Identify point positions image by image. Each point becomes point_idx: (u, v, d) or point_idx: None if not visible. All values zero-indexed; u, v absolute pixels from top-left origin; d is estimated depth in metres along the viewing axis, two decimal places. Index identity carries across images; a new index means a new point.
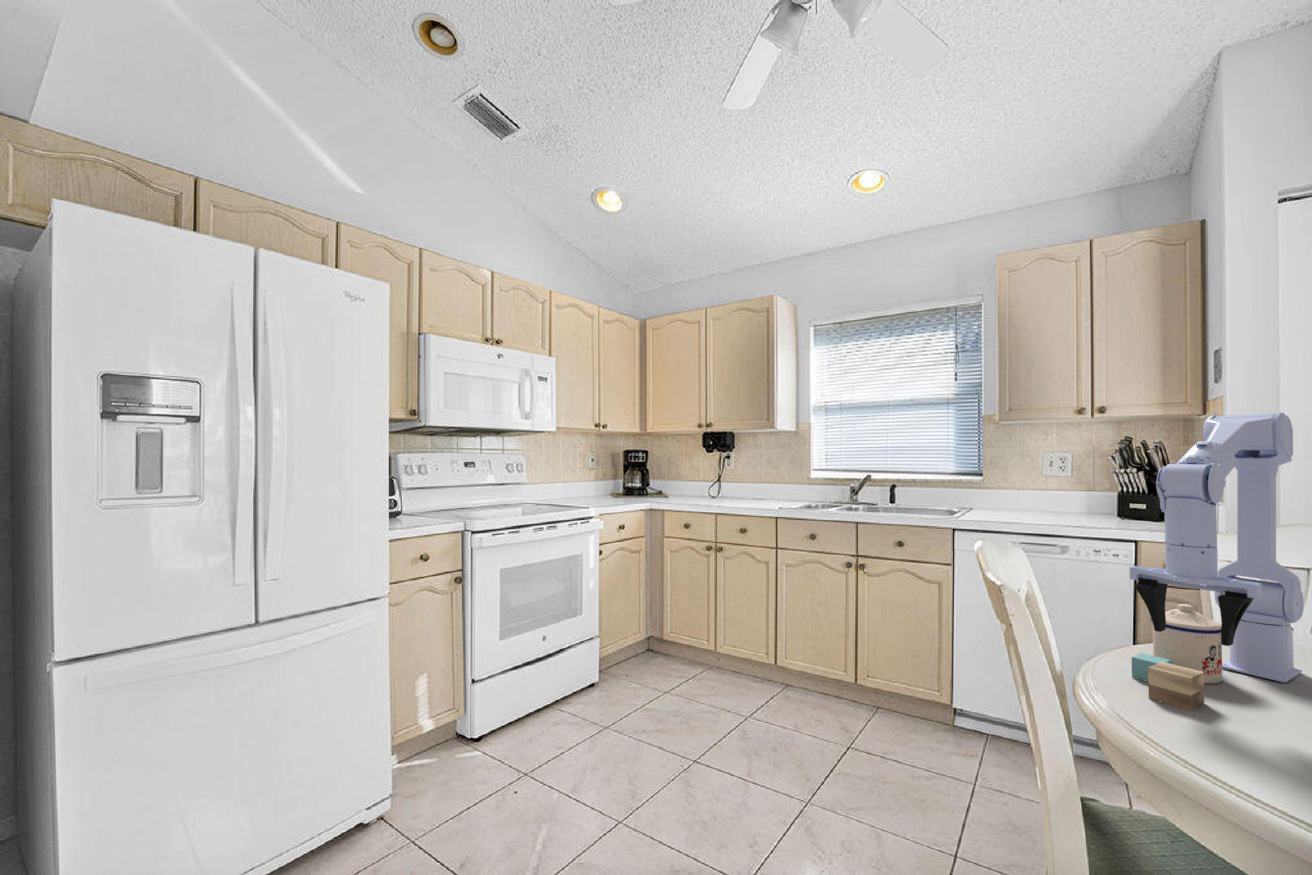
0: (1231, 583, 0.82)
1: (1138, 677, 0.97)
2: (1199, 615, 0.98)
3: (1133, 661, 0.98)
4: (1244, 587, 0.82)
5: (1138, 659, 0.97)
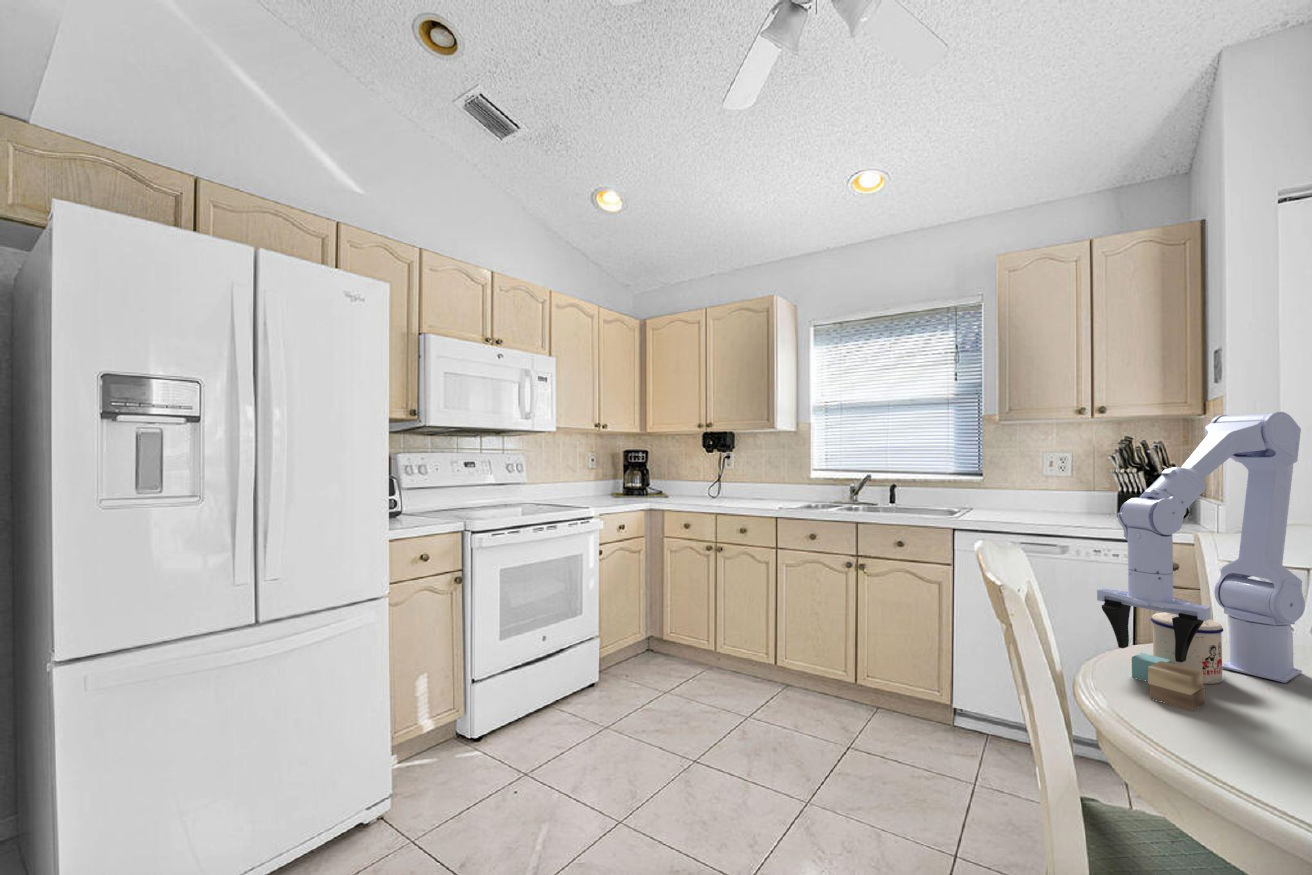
0: (1184, 606, 0.93)
1: (1138, 677, 0.97)
2: None
3: (1133, 661, 0.98)
4: (1195, 610, 0.92)
5: (1138, 659, 0.97)
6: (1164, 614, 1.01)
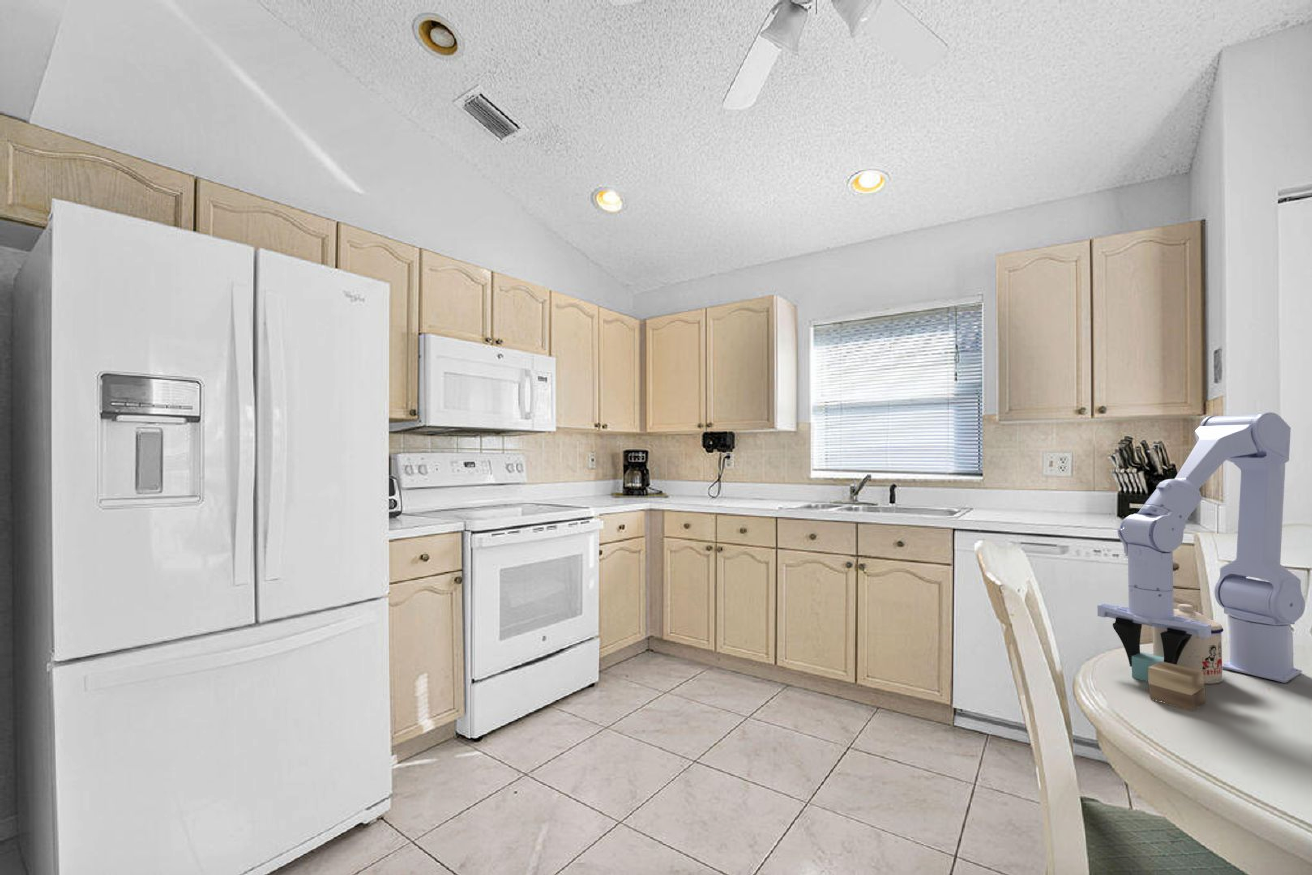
0: (1184, 624, 0.93)
1: (1138, 676, 0.97)
2: (1199, 615, 0.98)
3: (1133, 660, 0.98)
4: (1195, 628, 0.92)
5: (1138, 658, 0.97)
6: None
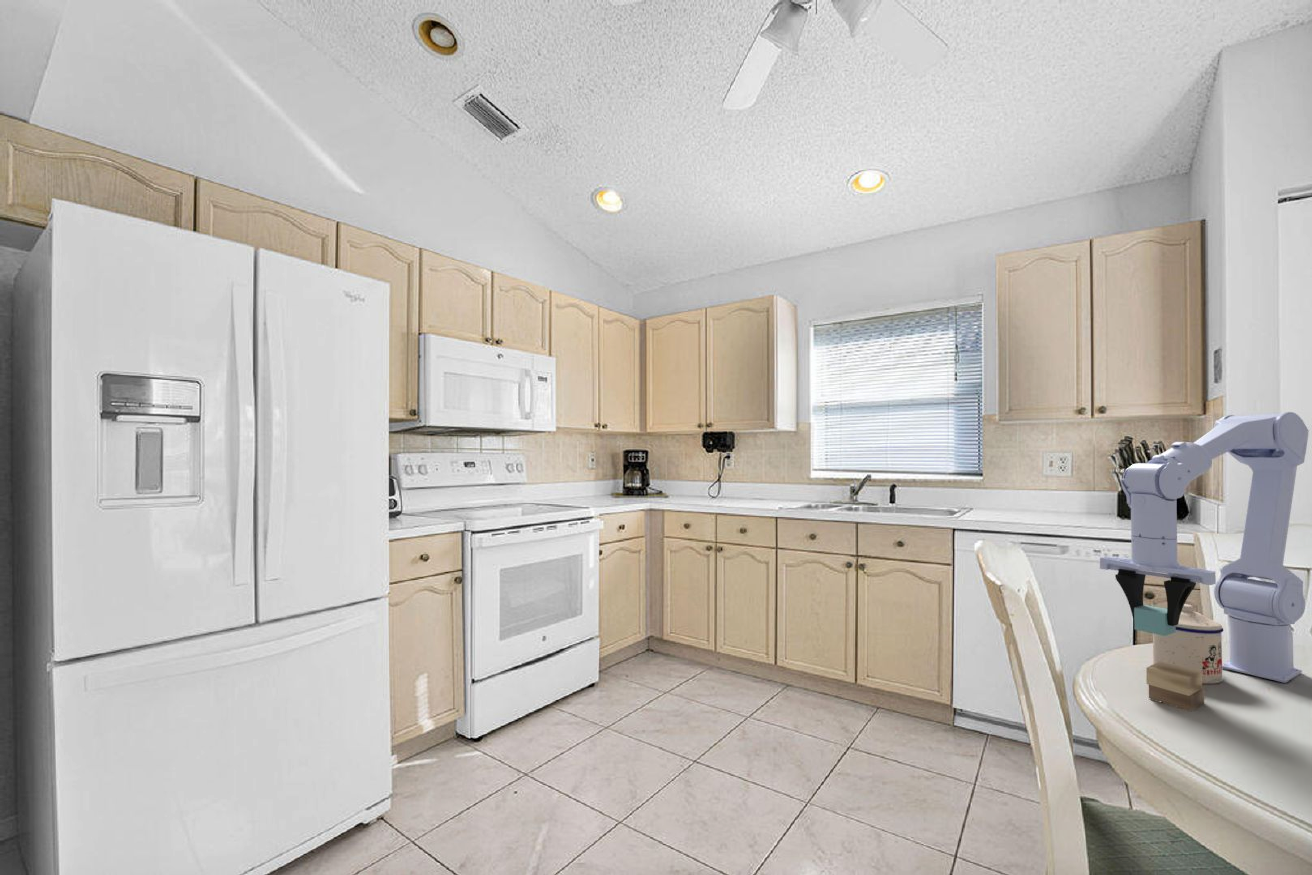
0: (1188, 571, 0.91)
1: (1141, 628, 0.95)
2: (1199, 615, 0.98)
3: (1136, 612, 0.96)
4: (1199, 575, 0.90)
5: (1141, 609, 0.96)
6: None
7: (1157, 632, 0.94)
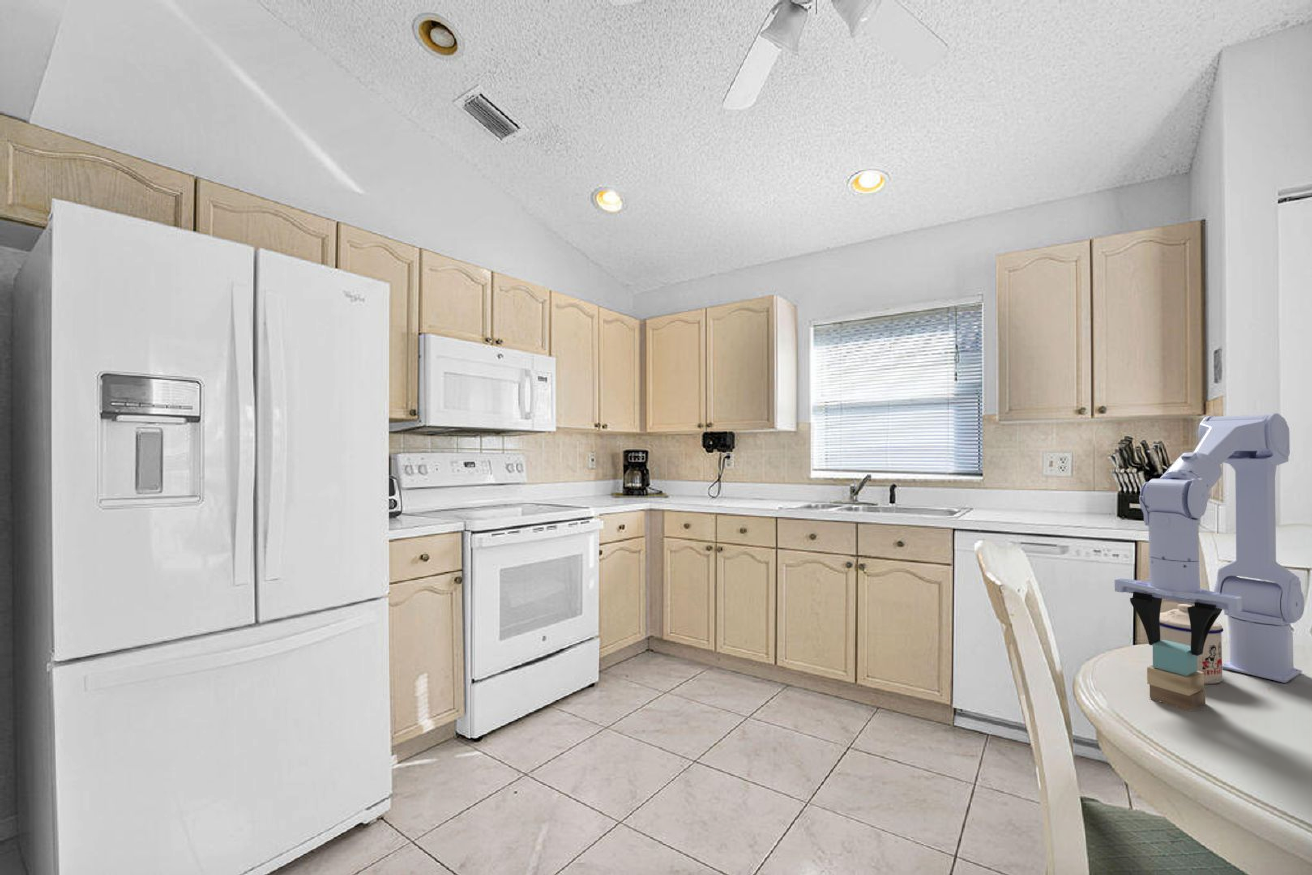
0: (1212, 597, 0.84)
1: (1160, 666, 0.89)
2: None
3: (1154, 648, 0.89)
4: (1225, 601, 0.83)
5: (1160, 646, 0.89)
6: (1164, 614, 1.01)
7: (1178, 671, 0.87)
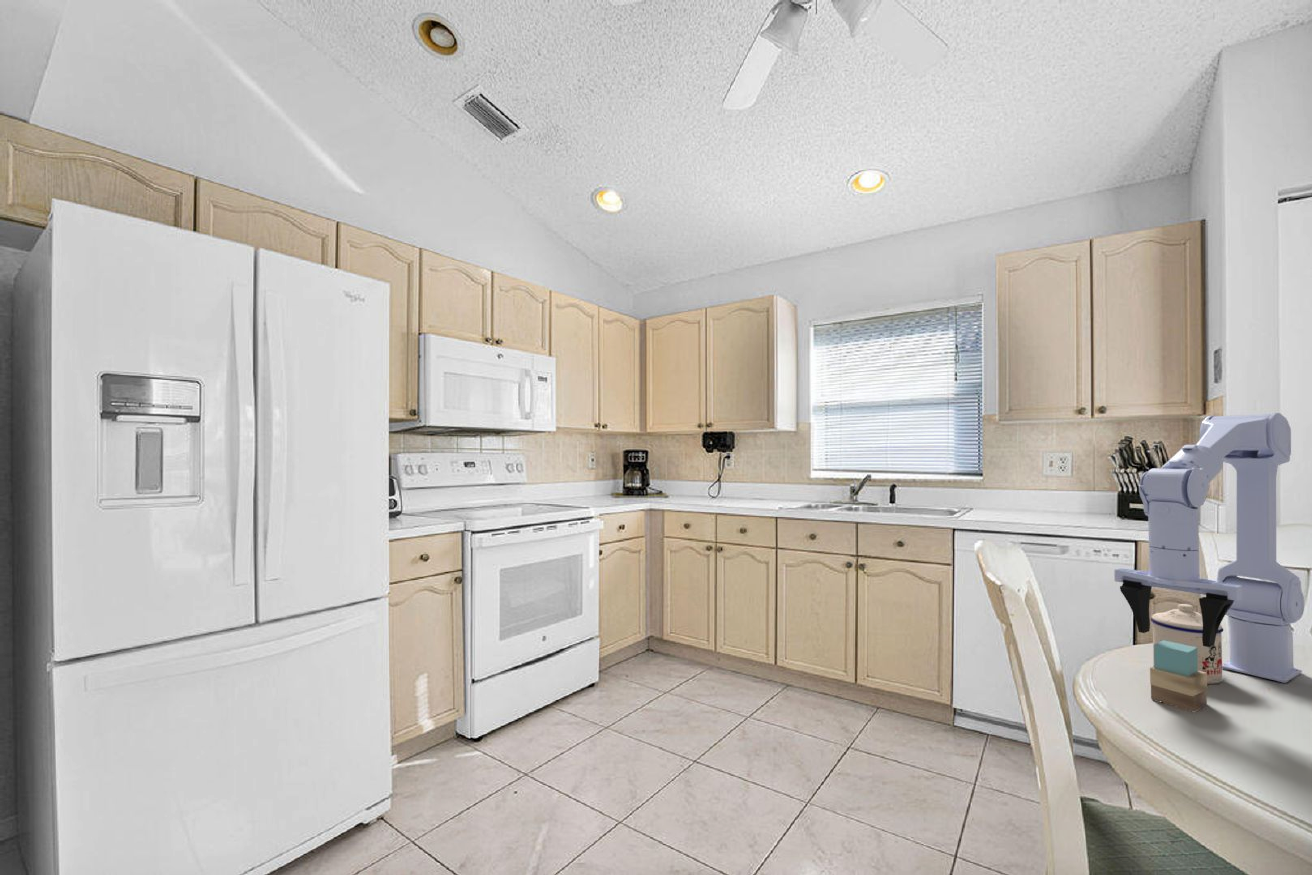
0: (1212, 585, 0.84)
1: (1161, 667, 0.88)
2: (1199, 615, 0.98)
3: (1156, 649, 0.89)
4: (1224, 589, 0.83)
5: (1161, 646, 0.88)
6: (1164, 614, 1.01)
7: (1180, 672, 0.87)
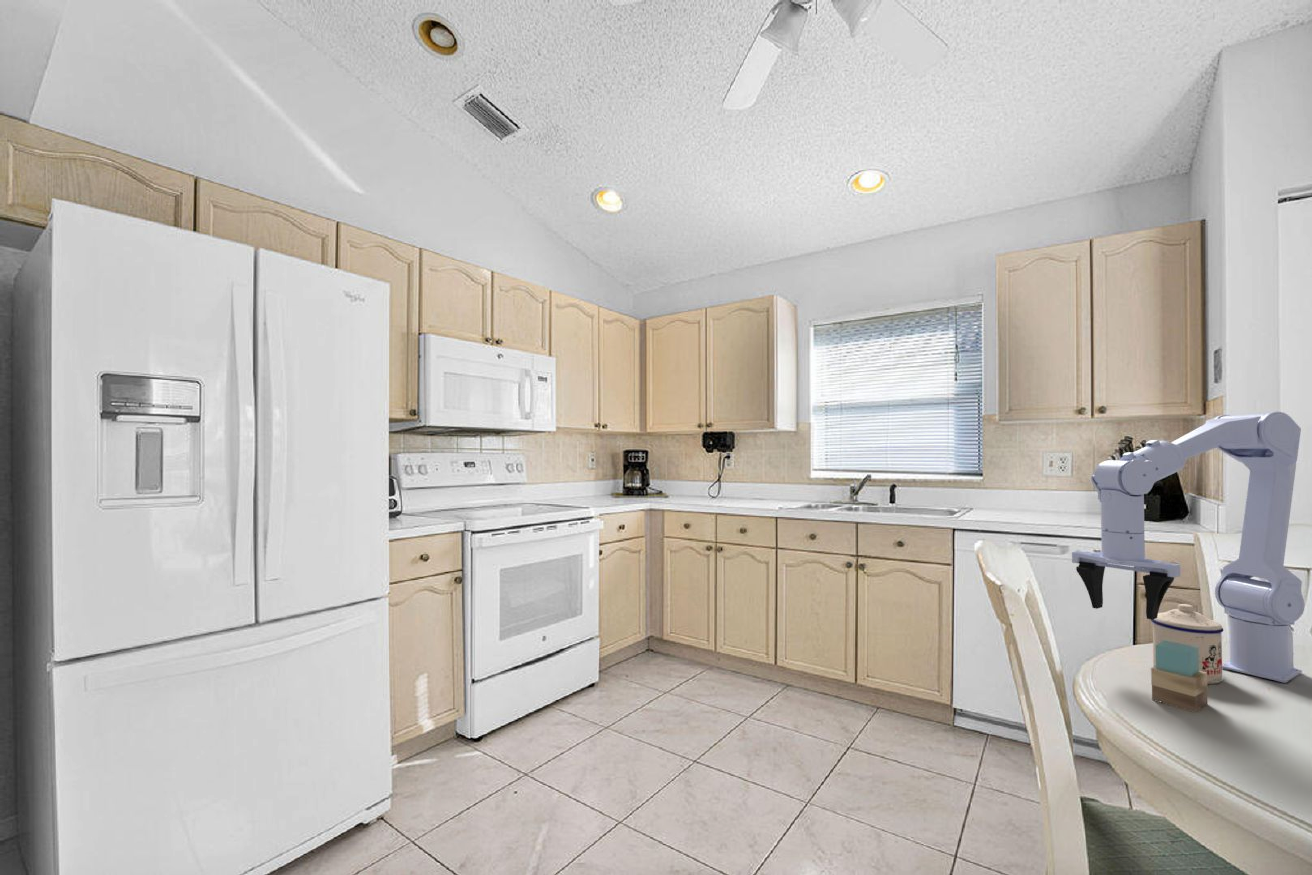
0: (1154, 564, 0.94)
1: (1163, 667, 0.88)
2: (1199, 615, 0.98)
3: (1157, 649, 0.89)
4: (1165, 567, 0.93)
5: (1163, 647, 0.88)
6: (1164, 614, 1.01)
7: (1182, 672, 0.86)
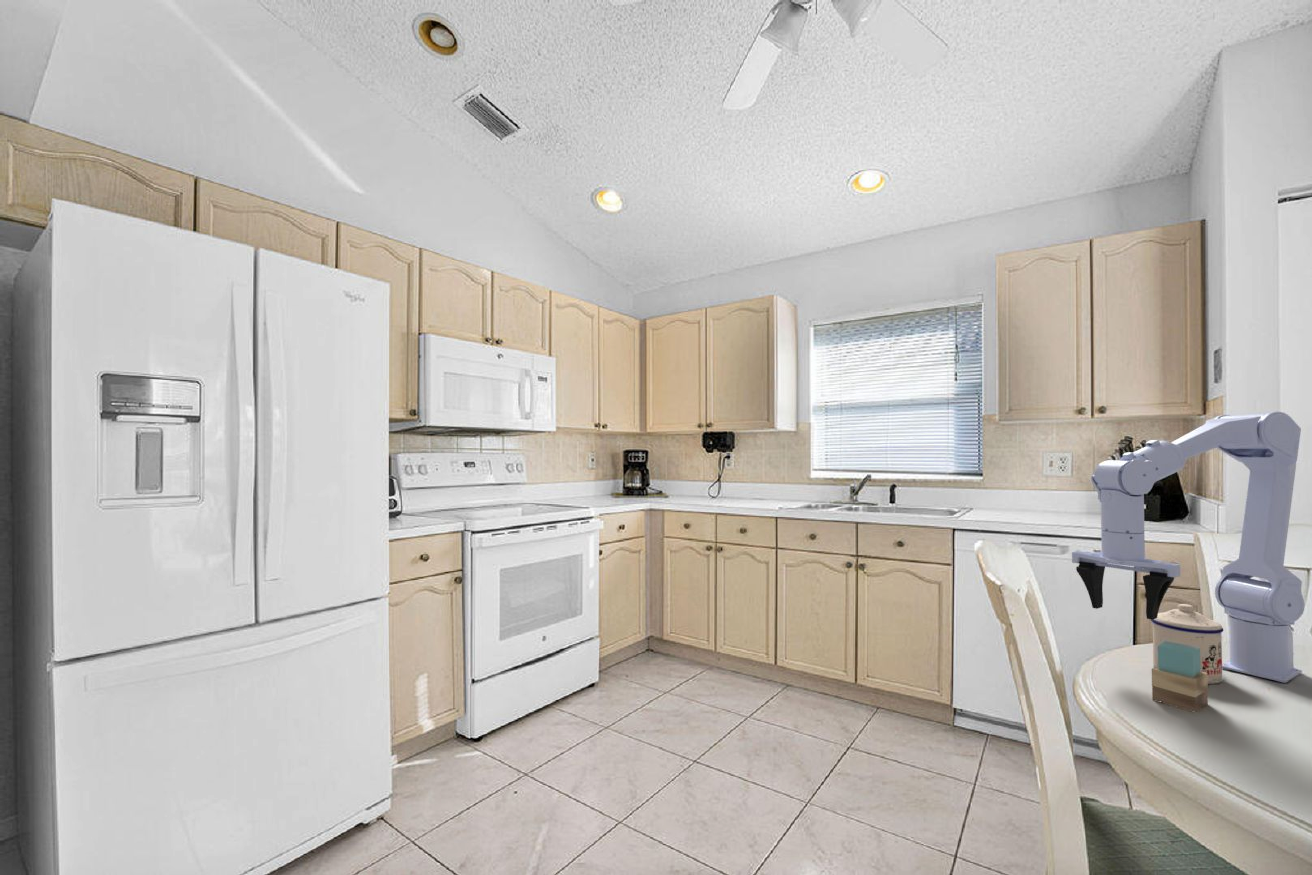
0: (1154, 564, 0.94)
1: (1165, 668, 0.88)
2: (1199, 615, 0.98)
3: (1159, 650, 0.89)
4: (1165, 567, 0.93)
5: (1165, 647, 0.88)
6: (1164, 614, 1.01)
7: (1184, 673, 0.86)
